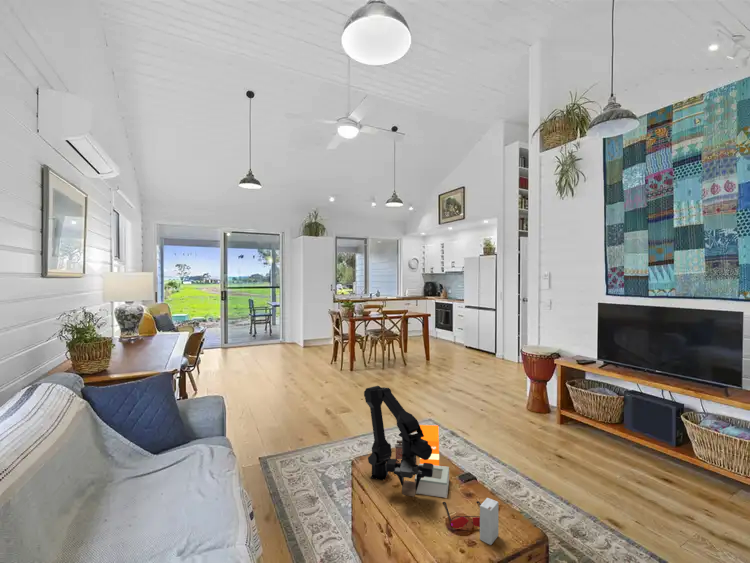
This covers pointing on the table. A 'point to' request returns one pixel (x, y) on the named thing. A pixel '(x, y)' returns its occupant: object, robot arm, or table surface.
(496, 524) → the skincare box
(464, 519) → the glasses
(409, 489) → the brown square block
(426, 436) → the orange juice
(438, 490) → the slot box
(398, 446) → the ornate red flask
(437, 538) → the table surface
